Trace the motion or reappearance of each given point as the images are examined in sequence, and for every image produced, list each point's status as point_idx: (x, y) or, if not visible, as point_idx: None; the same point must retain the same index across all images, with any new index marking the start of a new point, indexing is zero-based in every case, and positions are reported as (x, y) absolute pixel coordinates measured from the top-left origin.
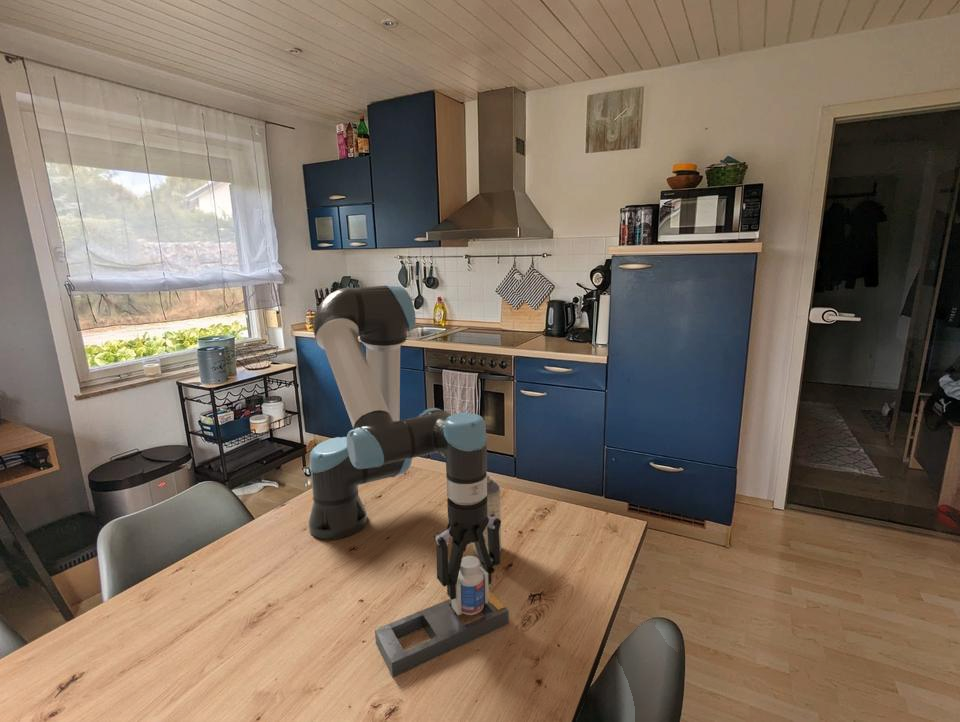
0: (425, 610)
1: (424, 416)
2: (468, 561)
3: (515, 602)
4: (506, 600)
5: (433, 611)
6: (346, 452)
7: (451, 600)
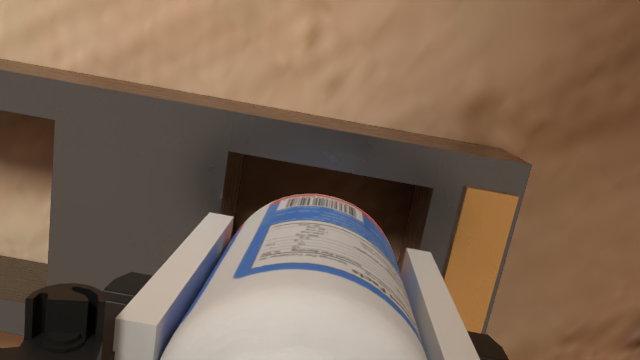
0: (85, 97)
1: None
2: None
3: (586, 288)
4: (564, 246)
5: (120, 140)
6: None
7: (196, 228)
